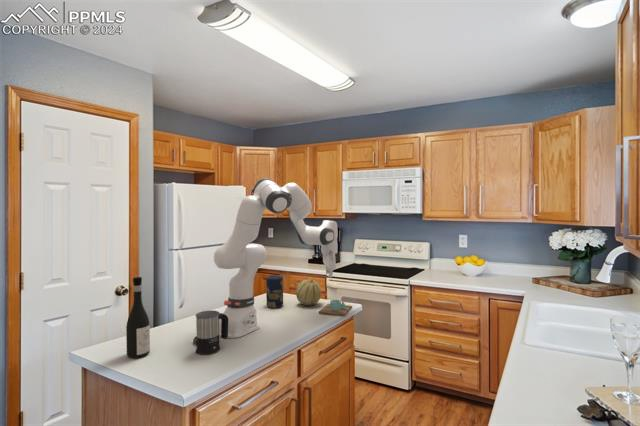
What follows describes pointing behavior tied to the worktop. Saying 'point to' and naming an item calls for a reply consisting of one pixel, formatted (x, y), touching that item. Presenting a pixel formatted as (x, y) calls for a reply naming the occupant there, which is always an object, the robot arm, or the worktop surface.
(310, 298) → the cantaloupe
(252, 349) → the worktop surface
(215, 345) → the milk frother
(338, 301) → the teal frame with handle
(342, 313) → the board
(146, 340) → the wine bottle
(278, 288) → the canister
